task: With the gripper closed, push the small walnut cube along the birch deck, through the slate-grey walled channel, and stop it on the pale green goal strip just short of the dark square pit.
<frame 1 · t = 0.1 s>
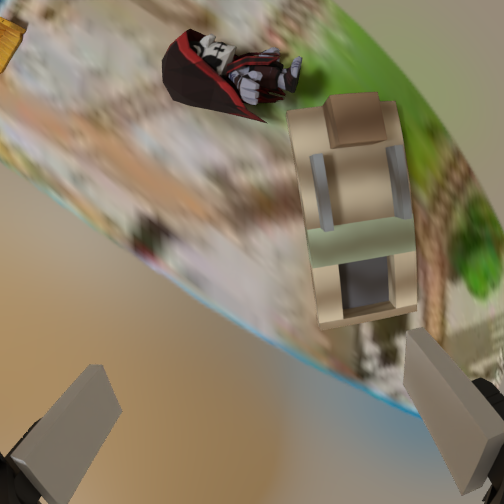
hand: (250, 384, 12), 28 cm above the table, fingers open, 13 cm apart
deck: (355, 214, 38), on the table
dollhouse swing: (2, 50, 35), on the table
toy: (233, 86, 36), on the table
block: (347, 125, 33), point 3 cm above the table, touching deck
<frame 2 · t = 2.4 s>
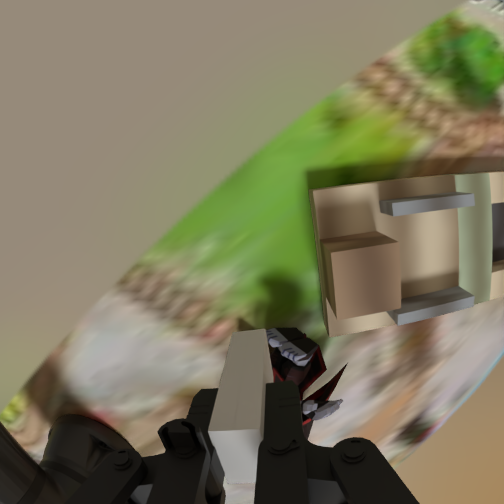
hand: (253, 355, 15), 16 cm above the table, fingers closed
deck: (440, 240, 29), on the table
toy: (281, 374, 33), on the table
block: (351, 264, 26), point 3 cm above the table, touching deck
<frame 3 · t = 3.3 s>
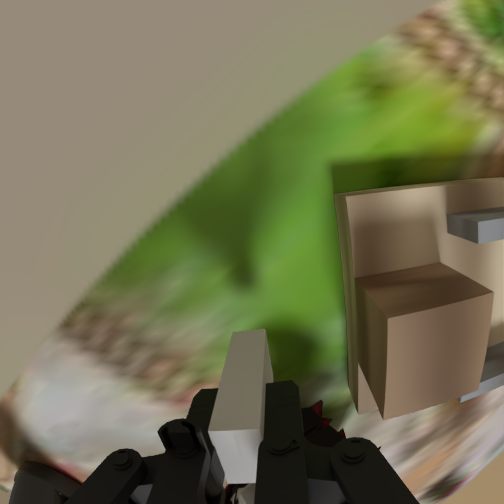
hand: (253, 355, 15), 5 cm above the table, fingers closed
toy: (285, 446, 22), on the table
block: (400, 314, 16), point 3 cm above the table, touching deck
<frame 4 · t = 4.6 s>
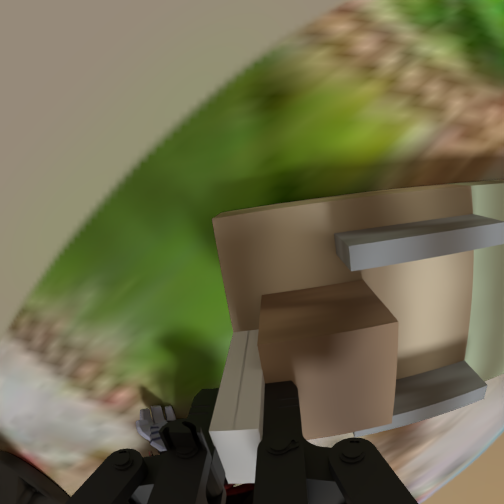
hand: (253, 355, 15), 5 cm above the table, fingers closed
deck: (442, 287, 18), on the table
toy: (206, 453, 22), on the table
block: (317, 333, 16), point 3 cm above the table, touching gripper
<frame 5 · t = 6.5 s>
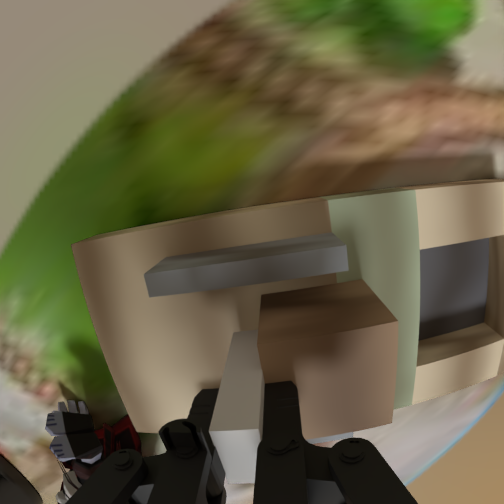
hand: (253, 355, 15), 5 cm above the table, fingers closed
deck: (322, 308, 19), on the table
toy: (121, 448, 23), on the table
block: (317, 332, 16), point 3 cm above the table, touching deck, gripper
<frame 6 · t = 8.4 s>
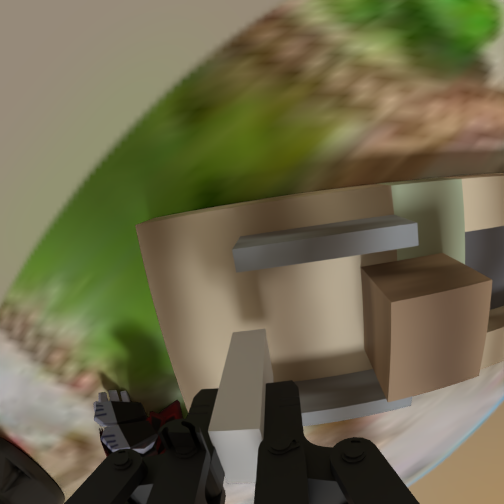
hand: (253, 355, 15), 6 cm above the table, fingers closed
deck: (375, 288, 19), on the table
toy: (162, 438, 24), on the table
block: (404, 302, 16), point 3 cm above the table, touching deck
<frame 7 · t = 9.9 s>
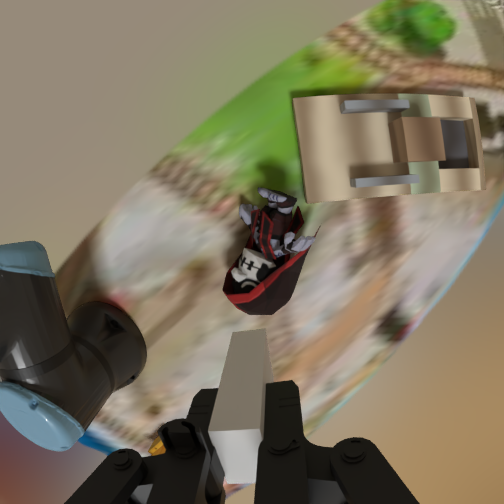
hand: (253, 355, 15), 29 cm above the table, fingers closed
deck: (394, 145, 38), on the table
toy: (272, 247, 43), on the table
block: (408, 142, 35), point 3 cm above the table, touching deck
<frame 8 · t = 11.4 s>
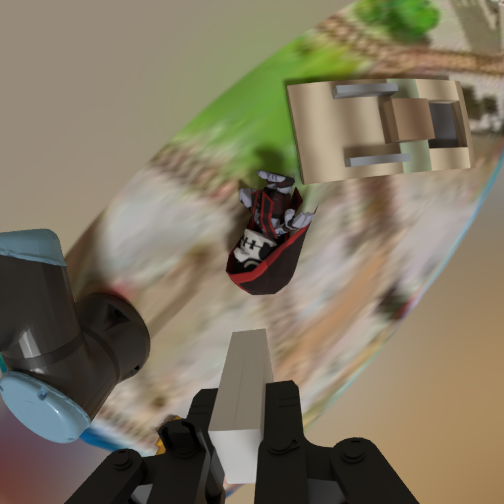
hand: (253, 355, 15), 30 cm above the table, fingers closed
deck: (385, 128, 40), on the table
toy: (271, 229, 44), on the table
block: (398, 124, 37), point 3 cm above the table, touching deck
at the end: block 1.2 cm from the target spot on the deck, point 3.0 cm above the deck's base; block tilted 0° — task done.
